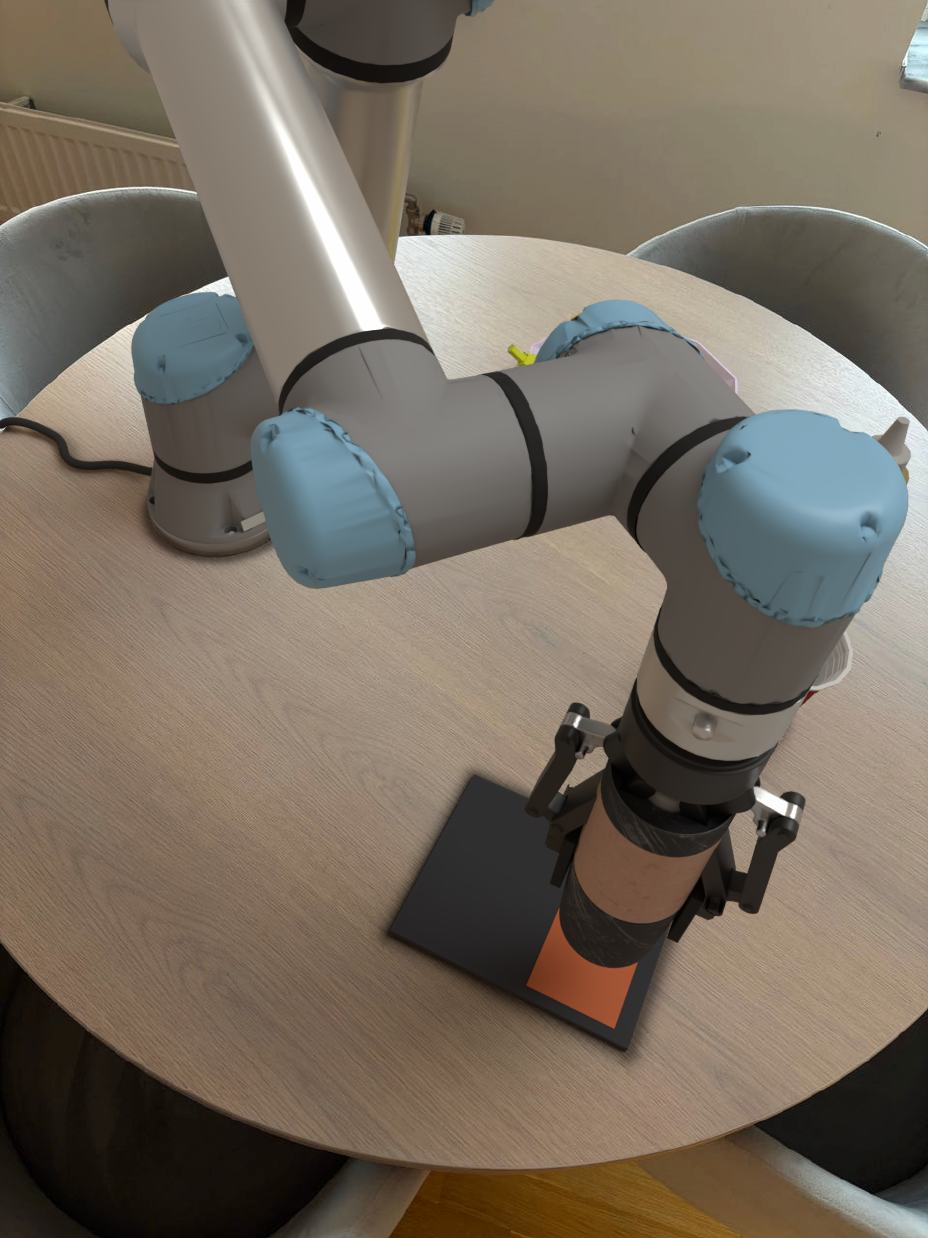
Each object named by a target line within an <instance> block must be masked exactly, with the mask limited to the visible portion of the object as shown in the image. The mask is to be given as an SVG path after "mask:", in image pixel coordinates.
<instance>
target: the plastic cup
mask: <svg viewBox="0 0 928 1238" xmlns="http://www.w3.org/2000/svg"><path fill="white" fill-rule="evenodd" d="M853 655H854V649H853V646H852V644H851V641H850V638H849V634H848V632H847V629H846V630H845V632H844V633H843V635H842V637H841V638H840V640H839V641H838V643H837V645H836V646H835V648H834V649H833V651H832V652H831V654H830V656H829V657H828V659H827V660H826V662H825V664H824V665H823V667H822V668H821V671H820V673H819V676H818V677H817V678H816V679H815V681H814V683H813V685H812V686H811V688H810V690H809V692H808V694H807V695H806V697H805V699H804V701H803V702H802V704H801V706H800V708H801V707H802V706H803V705H804V704H805V703H806V702H808V701H809V700H810V699H811V698H812V697H813V696H814V695H815V694H818V693H819V692H820V691H823V690H825V689H828V688H830V687H834V686H836V685H838V684H840V682H841V681H842V680H843V679H844V678H845V677H846V676H847V675H848V674H849V672H850V671H851V670H852V663H853Z"/></svg>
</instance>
